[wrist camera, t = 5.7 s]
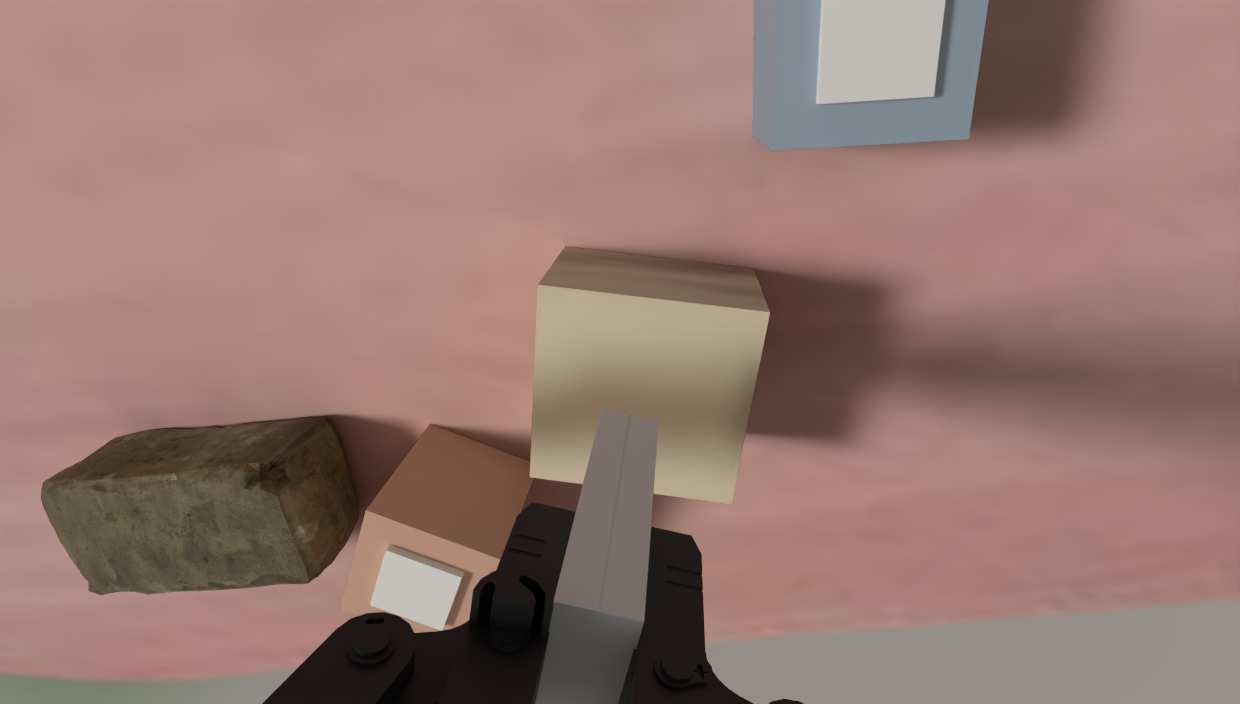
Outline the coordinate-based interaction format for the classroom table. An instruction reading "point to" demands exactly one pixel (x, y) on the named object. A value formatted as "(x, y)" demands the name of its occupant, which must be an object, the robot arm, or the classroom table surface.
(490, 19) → the classroom table surface
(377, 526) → the terracotta block
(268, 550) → the stone block
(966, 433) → the classroom table surface
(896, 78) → the slate block
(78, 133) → the classroom table surface
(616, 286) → the oak block
